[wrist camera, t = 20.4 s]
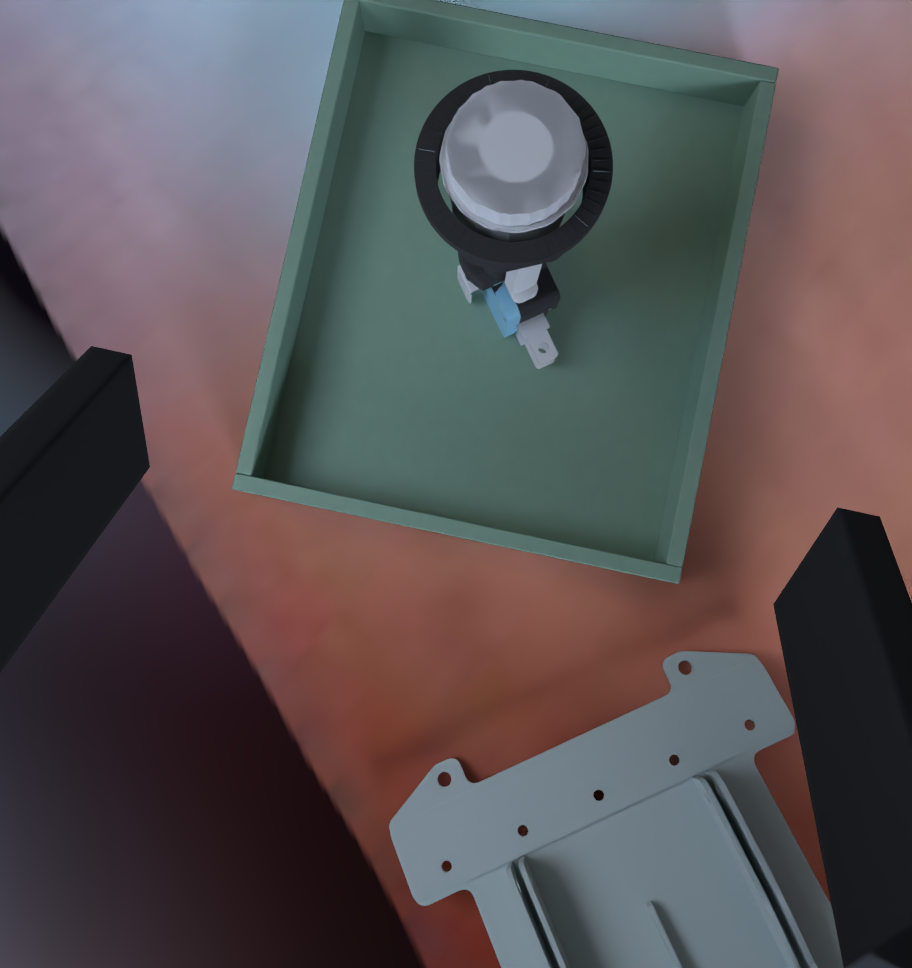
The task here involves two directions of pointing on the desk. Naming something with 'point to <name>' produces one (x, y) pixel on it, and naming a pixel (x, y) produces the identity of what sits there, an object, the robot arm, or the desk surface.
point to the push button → (513, 190)
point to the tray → (471, 327)
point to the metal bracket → (633, 839)
